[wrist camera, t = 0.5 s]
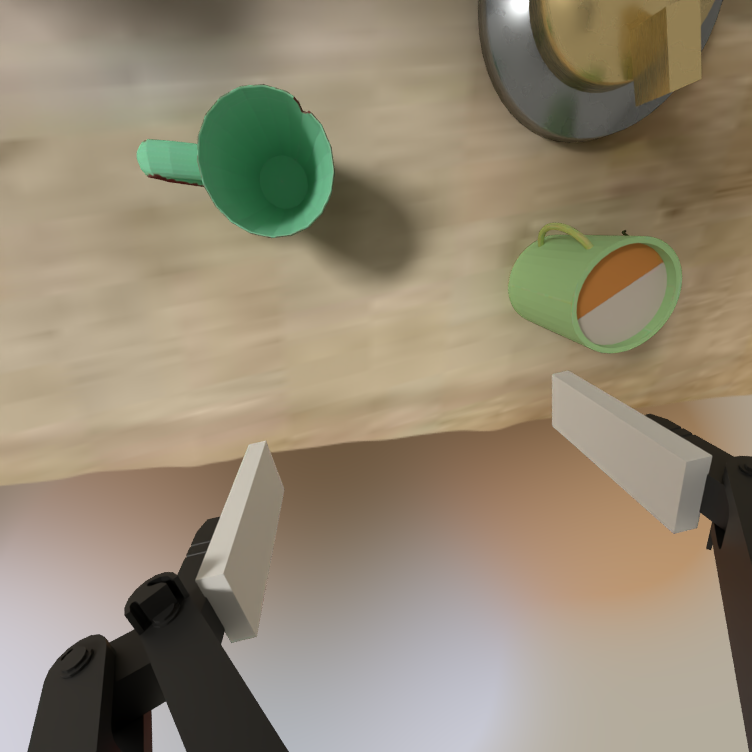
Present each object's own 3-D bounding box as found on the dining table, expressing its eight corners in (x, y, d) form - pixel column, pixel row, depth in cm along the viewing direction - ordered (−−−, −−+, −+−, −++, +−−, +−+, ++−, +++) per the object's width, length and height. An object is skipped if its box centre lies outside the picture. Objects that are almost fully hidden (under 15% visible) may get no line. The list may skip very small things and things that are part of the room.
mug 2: (605, 287, 43) (698, 306, 32) (530, 338, 45) (595, 373, 34) (564, 192, 39) (657, 177, 28) (483, 252, 40) (540, 261, 29)
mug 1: (334, 129, 34) (335, 91, 25) (333, 238, 38) (334, 241, 29) (172, 114, 32) (107, 67, 23) (187, 231, 36) (137, 230, 27)
